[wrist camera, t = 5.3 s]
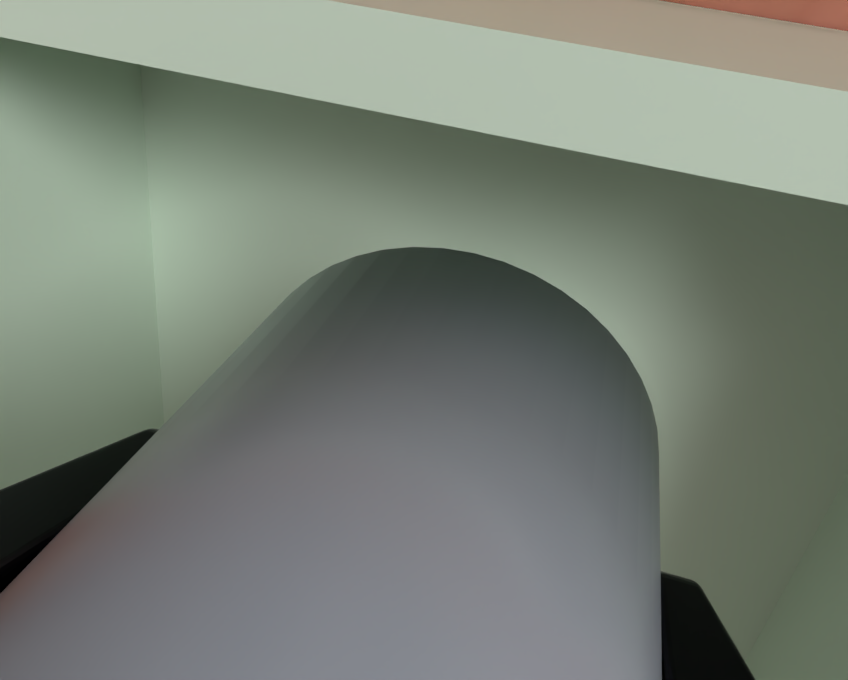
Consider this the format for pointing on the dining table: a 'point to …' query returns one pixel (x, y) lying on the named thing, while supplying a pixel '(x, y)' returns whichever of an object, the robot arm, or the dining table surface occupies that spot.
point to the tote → (456, 232)
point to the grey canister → (374, 500)
